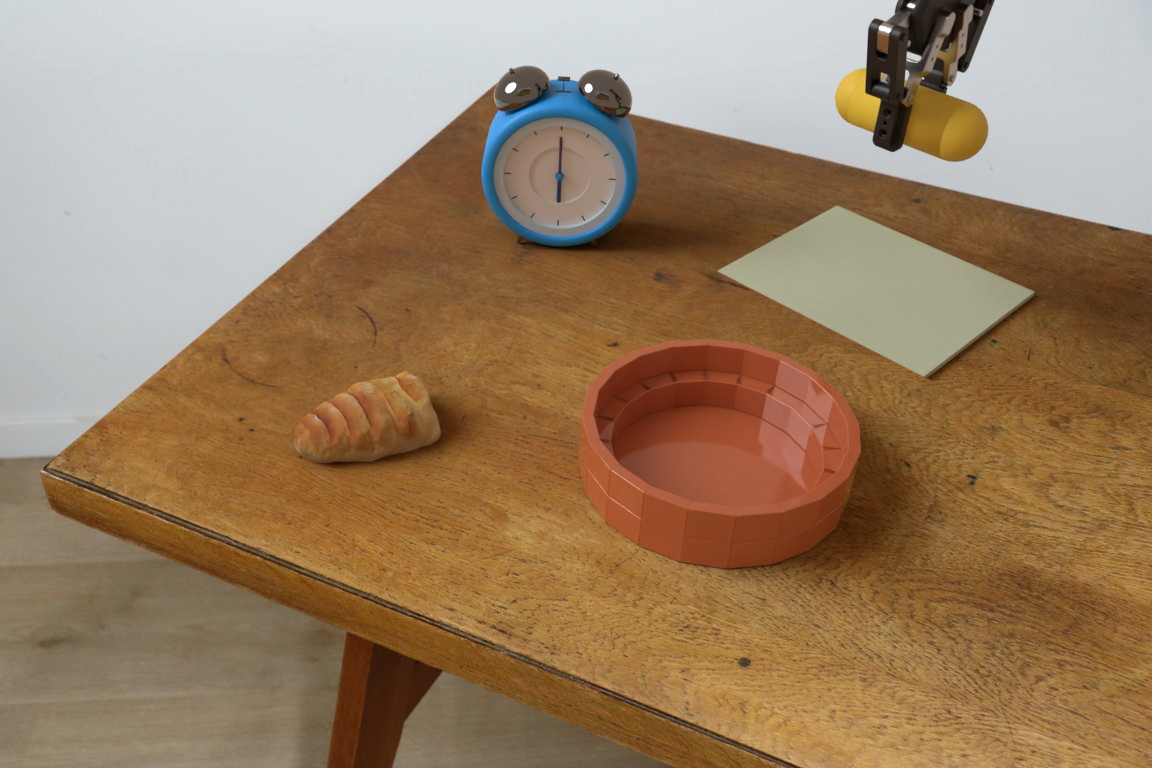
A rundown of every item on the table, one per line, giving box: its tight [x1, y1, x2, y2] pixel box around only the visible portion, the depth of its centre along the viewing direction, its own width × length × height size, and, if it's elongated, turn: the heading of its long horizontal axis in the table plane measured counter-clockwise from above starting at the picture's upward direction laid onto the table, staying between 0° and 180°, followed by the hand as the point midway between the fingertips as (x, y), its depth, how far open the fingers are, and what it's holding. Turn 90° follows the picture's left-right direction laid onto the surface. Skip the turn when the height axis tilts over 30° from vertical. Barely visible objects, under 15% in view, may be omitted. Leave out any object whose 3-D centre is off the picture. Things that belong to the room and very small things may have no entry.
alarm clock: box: [480, 65, 639, 248], centre depth 94 cm, size 13×6×15 cm, turn 88°
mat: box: [717, 205, 1036, 379], centre depth 93 cm, size 20×20×1 cm
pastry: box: [293, 370, 442, 464], centre depth 74 cm, size 9×7×4 cm
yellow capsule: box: [834, 67, 989, 163], centre depth 84 cm, size 12×4×4 cm, turn 45°
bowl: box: [577, 338, 862, 570], centre depth 72 cm, size 18×18×5 cm
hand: (904, 137), depth 85 cm, fingers closed on yellow capsule, 4 cm apart
